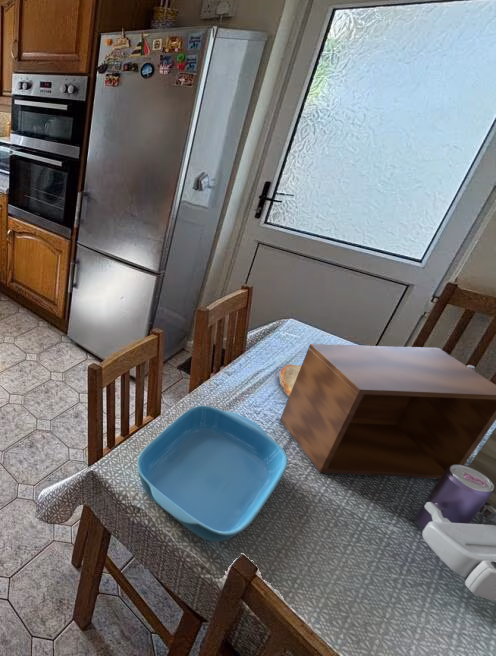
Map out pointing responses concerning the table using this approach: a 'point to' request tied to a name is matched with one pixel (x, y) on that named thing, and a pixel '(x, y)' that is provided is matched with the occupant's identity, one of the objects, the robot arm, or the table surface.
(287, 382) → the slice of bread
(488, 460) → the cupboard door
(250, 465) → the casserole dish
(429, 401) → the cupboard
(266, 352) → the table surface
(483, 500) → the beverage can
